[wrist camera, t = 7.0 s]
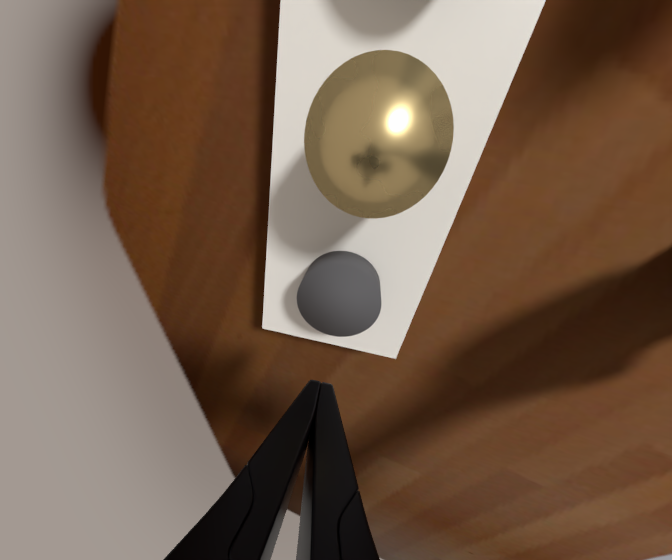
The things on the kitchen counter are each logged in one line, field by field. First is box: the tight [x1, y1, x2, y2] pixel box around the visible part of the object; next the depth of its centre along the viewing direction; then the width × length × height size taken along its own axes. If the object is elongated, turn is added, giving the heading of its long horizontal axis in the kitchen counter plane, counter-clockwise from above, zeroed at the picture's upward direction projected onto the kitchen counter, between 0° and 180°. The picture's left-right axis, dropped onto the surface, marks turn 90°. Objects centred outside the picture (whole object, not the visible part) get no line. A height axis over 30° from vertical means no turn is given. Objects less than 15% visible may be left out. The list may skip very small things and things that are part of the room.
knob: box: [297, 251, 381, 337], centre depth 16 cm, size 5×5×5 cm
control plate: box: [262, 0, 546, 359], centre depth 14 cm, size 26×10×3 cm, turn 169°
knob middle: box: [304, 50, 454, 219], centre depth 10 cm, size 5×5×5 cm
